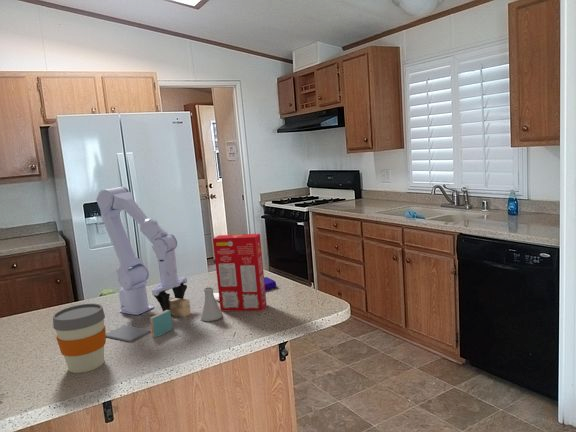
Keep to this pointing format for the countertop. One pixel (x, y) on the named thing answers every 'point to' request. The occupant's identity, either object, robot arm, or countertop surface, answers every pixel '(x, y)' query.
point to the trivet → (127, 333)
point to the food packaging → (240, 272)
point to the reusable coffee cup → (81, 336)
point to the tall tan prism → (179, 307)
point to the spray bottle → (268, 285)
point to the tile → (161, 323)
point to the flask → (210, 306)
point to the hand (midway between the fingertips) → (173, 309)
